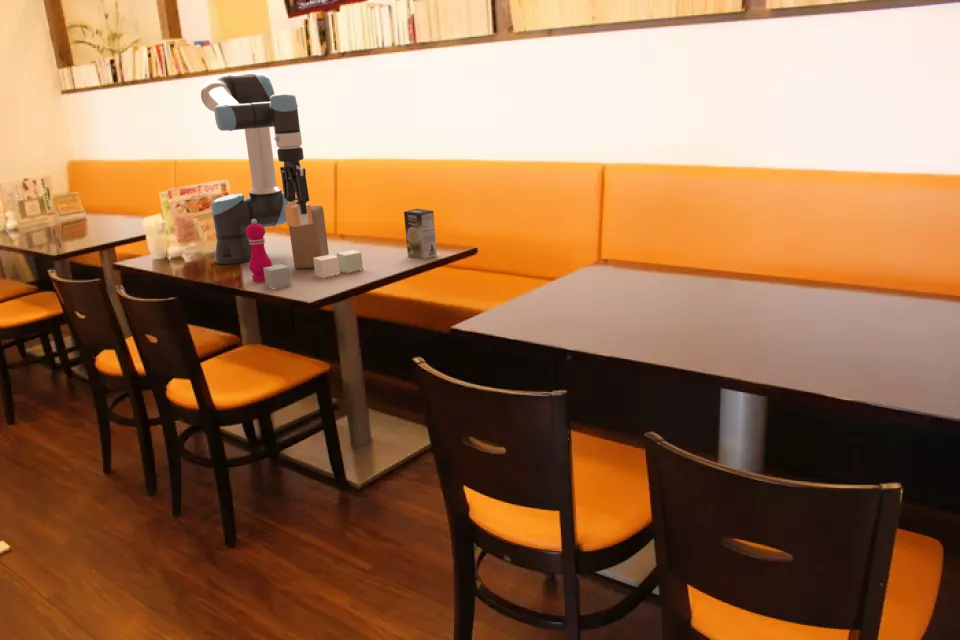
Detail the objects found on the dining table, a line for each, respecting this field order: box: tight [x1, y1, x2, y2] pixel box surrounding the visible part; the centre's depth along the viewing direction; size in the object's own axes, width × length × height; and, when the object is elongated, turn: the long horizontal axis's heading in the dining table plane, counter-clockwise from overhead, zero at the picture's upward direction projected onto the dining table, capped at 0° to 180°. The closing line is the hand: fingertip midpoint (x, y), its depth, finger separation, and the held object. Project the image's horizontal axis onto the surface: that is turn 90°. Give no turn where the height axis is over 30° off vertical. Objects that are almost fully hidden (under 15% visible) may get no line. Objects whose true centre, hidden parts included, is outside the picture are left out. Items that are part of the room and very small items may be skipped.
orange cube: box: [284, 203, 313, 227], centre depth 238 cm, size 6×6×6 cm
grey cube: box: [263, 263, 292, 290], centre depth 241 cm, size 6×6×6 cm
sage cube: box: [336, 249, 364, 274], centre depth 255 cm, size 6×6×6 cm
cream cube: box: [313, 254, 341, 279], centre depth 251 cm, size 6×6×6 cm
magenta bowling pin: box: [246, 219, 273, 283], centre depth 248 cm, size 7×7×20 cm
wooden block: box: [288, 205, 330, 270], centre depth 263 cm, size 10×10×20 cm
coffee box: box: [403, 208, 437, 260], centre depth 267 cm, size 9×6×16 cm
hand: (299, 223), depth 239 cm, fingers closed on orange cube, 6 cm apart
